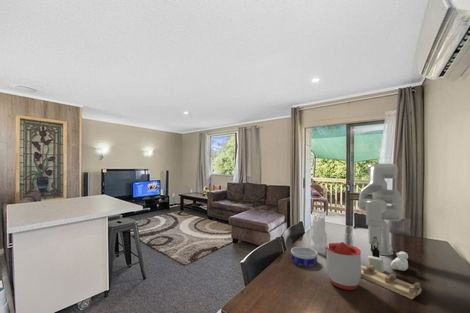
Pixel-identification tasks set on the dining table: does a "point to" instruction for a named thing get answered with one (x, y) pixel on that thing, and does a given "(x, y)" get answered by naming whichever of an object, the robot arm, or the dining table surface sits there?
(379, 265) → the frame block
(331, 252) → the citrus juicer
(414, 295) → the wooden rack
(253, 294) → the dining table surface
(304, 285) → the dining table surface
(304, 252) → the dog bowl
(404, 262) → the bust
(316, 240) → the white crystal cluster
